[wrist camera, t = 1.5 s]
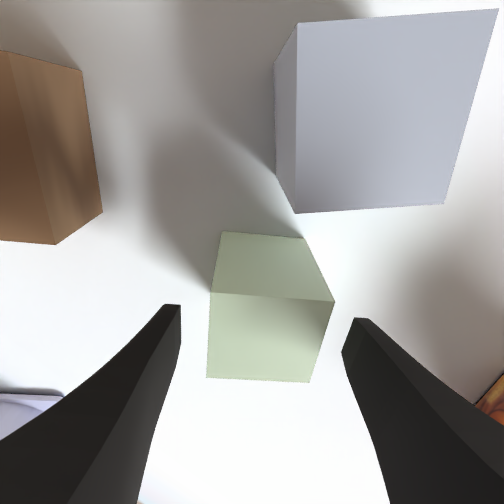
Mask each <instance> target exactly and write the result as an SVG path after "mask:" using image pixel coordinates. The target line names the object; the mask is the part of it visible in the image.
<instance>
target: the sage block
mask: <svg viewBox="0 0 504 504" xmlns="http://www.w3.org/2000/svg"><path fill="white" fill-rule="evenodd" d="M334 304H335V300H334V298H333V296H332V294H331V292H330V290H329V288H328V286H327V284H326V282H325V280H324V277H323V275H322V273H321V271H320V269H319V267H318V265H317V263H316V261H315V259H314V257H313V255H312V253H311V251H310V248H309V246H308V244H307V242H306V240H305V239H304V238H294V237H283V236H272V235H261V234H250V233H239V232H228V231H222V234H221V239H220V244H219V250H218V255H217V260H216V265H215V271H214V276H213V281H212V287H211V292H210V312H209V332H208V353H207V374H206V378H223V379H242V380H262V381H282V382H301V383H309V382H310V379H311V375H312V372H313V369H314V366H315V363H316V360H317V357H318V354H319V350H320V347H321V344H322V341H323V338H324V335H325V332H326V329H327V325H328V322H329V319H330V316H331V313H332V310H333V307H334Z"/></svg>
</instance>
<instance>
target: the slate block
mask: <svg viewBox="0 0 504 504" xmlns="http://www.w3.org/2000/svg"><path fill="white" fill-rule="evenodd" d="M498 10H499V8H498V9H484V10H470V11H456V12H443V13H429V14H415V15H401V16H388V17H374V18H360V19H346V20H332V21H319V22H305V23H297V25H296V26H295V28H294V30H293V32H292V33H291V35H290V37H289V38H288V40H287V42H286V43H285V45H284V47H283V48H282V50H281V52H280V53H279V55H278V57H277V59H276V60H275V62H274V105H275V155H276V177H277V179H278V181H279V183H280V185H281V187H282V189H283V191H284V193H285V195H286V197H287V199H288V201H289V203H290V205H291V207H292V209H293V211H294V213H295V214H300V213H315V212H330V211H344V210H359V209H374V208H388V207H403V206H418V205H432V204H444V201H445V198H446V194H447V191H448V187H449V184H450V180H451V177H452V173H453V169H454V166H455V162H456V159H457V155H458V152H459V148H460V145H461V141H462V138H463V134H464V131H465V127H466V124H467V120H468V116H469V113H470V109H471V106H472V102H473V99H474V95H475V92H476V88H477V85H478V81H479V78H480V74H481V71H482V67H483V63H484V60H485V56H486V53H487V49H488V46H489V42H490V39H491V35H492V32H493V28H494V25H495V21H496V18H497V14H498Z"/></svg>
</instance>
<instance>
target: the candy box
mask: <svg viewBox="0 0 504 504" xmlns="http://www.w3.org/2000/svg"><path fill="white" fill-rule="evenodd" d="M475 407H477V408H478V409H480V410H481V411H483V412H484V413H486V414H487V415H489V416H490V417H492V418H493V419H495V420H496V421H498V422H499V423H501V424H502V425H504V374H503V375H502V377H501V378H500V379H499V380H498V381H497V382H496V383H495V384H494V385H493V386H492V387H491V389H490V390H489V391H488V392H487V393H486V394H485V395H484V396H483V398H482V399H481V400H480V401H479V402H478V403H477V404H476V405H475Z"/></svg>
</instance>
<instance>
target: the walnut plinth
mask: <svg viewBox="0 0 504 504" xmlns="http://www.w3.org/2000/svg"><path fill="white" fill-rule="evenodd" d="M102 212H103V210H102V203H101V197H100V190H99V184H98V177H97V170H96V164H95V157H94V150H93V144H92V137H91V130H90V124H89V117H88V111H87V104H86V97H85V91H84V84H83V77H82V71H80V70H76V69H72V68H68V67H65V66H61V65H57V64H53V63H49V62H46V61H42V60H38V59H34V58H31V57H27V56H23V55H19V54H15V53H12V52H8V51H1V50H0V240H2V241H14V242H26V243H37V244H49V245H57V244H58V243H59V242H61V241H62V240H64V239H65V238H67V237H68V236H69V235H71V234H72V233H74V232H75V231H77V230H78V229H79V228H81V227H82V226H84V225H85V224H87V223H88V222H89V221H91V220H92V219H94V218H95V217H97V216H98V215H99V214H101V213H102Z"/></svg>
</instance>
